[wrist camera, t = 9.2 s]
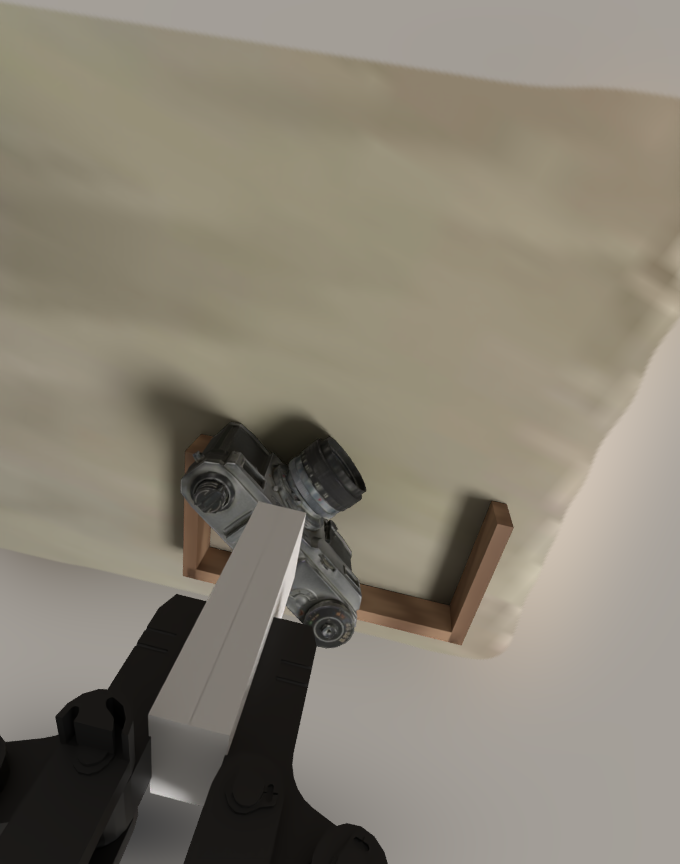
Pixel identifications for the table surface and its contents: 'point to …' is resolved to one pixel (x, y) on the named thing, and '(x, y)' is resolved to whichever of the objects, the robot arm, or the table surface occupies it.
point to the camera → (294, 489)
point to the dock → (374, 601)
